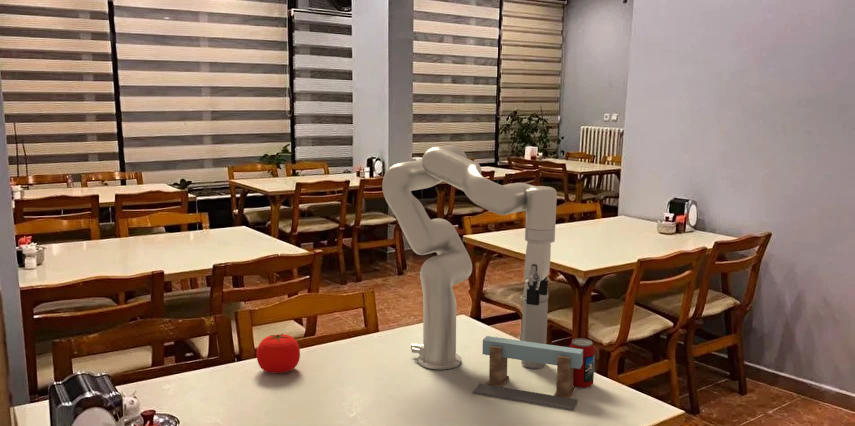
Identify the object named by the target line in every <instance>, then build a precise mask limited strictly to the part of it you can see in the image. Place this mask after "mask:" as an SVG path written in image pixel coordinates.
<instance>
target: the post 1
mask: <svg viewBox="0 0 855 426" xmlns="http://www.w3.org/2000/svg"><path fill="white" fill-rule="evenodd" d="M488 368H489V369H488V370H489V371H488V373H489V374H488V375H489V376H488V381H487V383H486V384H488V385H494V386H500V387H504V386H505V384H506V383H507V382H508V381H509V380H510V375H508V358H504V357H502V347H497V346H490V355H489V367H488Z"/></svg>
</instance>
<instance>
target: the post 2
mask: <svg viewBox="0 0 855 426" xmlns="http://www.w3.org/2000/svg"><path fill="white" fill-rule="evenodd" d="M556 366H557V367H556V389H555V390H556V391H555V392H554V394H553V395H554V396H560V397H566V398H572V396H573V395H574V392H575V389H576V387H574V386H573V374H574V368H570V357H566V356H559V355H558V361H557V365H556Z"/></svg>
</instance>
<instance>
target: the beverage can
mask: <svg viewBox="0 0 855 426" xmlns="http://www.w3.org/2000/svg"><path fill="white" fill-rule="evenodd" d="M568 347H570V348H577V349H583V364H582V366H581V368H580V369H577V368H574V374H573V386H574V387H575V388H577V389H578V388H579V389H587V388H590V387H591V386H593V385H594V381H595V380H594V379H595V378H594V377H595V356H596V354H595V353H596V348H595V346H594V344H593V341H592V340H590V339H588V338H581V337H580V338H574V339H572V340H571V342H570V345H569V346H568Z"/></svg>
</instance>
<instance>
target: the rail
mask: <svg viewBox="0 0 855 426" xmlns="http://www.w3.org/2000/svg"><path fill="white" fill-rule="evenodd" d="M490 346H497V347H502V357H504V358H507V359H511V360H518V361H521V360H524V361H531V362H537V363H544V364H546V365H551V366H552V365H553V366H557V361H558V355H559V356H566V357H570V368H577V369H580V368H581V366H582V364H583V349H577V348H570V347H569V346H562V345H561V346H560V345H556V344H555V345H554V344H547V343H546V344H541V343H534V342H527V341H521V340H518V339H511V338H504V337H497V336H490V335H486V336H485V337H484V338H483V339H482V355H484V356H485V355H486V356H490Z"/></svg>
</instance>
